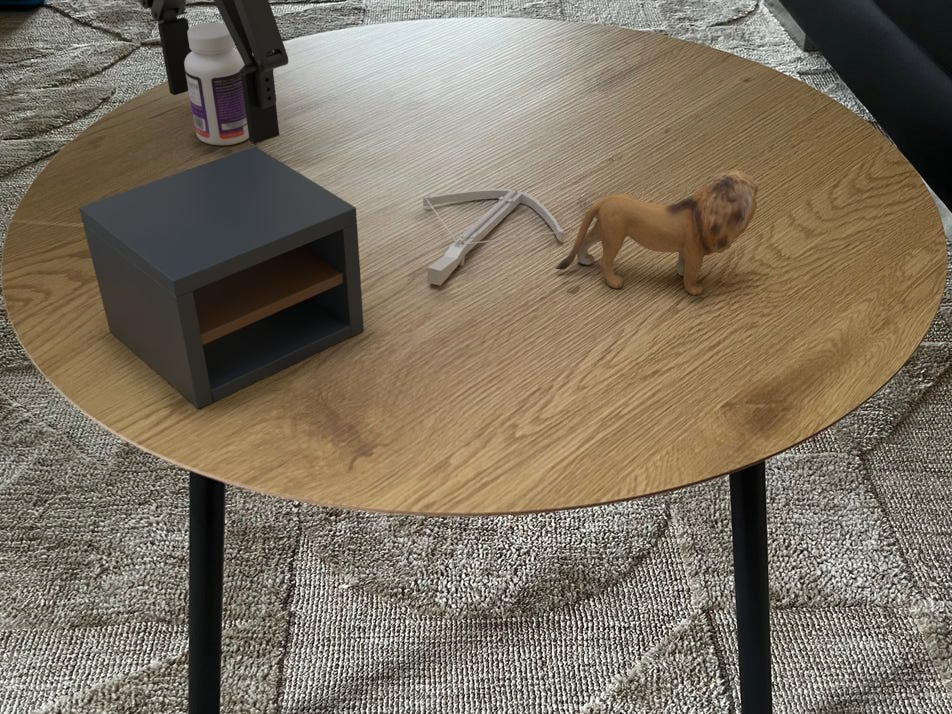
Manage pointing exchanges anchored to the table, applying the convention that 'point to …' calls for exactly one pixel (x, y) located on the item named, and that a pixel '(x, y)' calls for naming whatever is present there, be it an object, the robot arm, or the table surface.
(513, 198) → the crossbow
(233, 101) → the pill bottle
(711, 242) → the lion figurine
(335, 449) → the table surface
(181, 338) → the shelf
